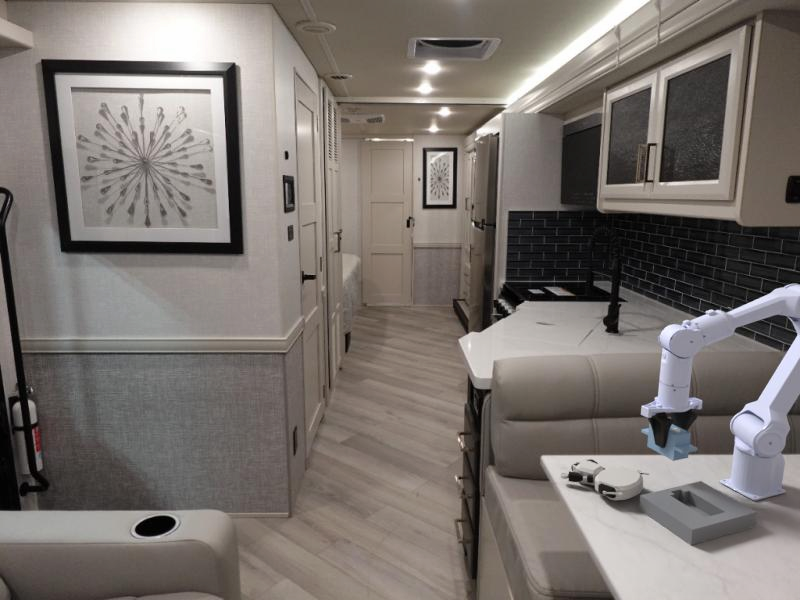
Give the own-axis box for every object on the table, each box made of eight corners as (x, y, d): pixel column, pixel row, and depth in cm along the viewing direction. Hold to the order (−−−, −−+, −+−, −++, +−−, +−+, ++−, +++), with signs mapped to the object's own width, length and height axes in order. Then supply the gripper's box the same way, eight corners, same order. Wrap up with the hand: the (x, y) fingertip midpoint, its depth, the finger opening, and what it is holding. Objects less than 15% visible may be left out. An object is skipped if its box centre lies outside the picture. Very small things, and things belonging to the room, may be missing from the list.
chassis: (699, 494, 112) (700, 481, 111) (754, 526, 100) (756, 511, 100) (639, 509, 106) (640, 495, 105) (690, 545, 95) (692, 529, 94)
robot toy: (556, 488, 116) (624, 513, 104) (556, 468, 115) (624, 491, 104) (586, 470, 124) (652, 491, 112) (586, 451, 123) (652, 470, 112)
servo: (654, 439, 120) (656, 414, 118) (696, 462, 109) (699, 435, 108) (640, 442, 118) (642, 417, 117) (681, 465, 108) (684, 437, 107)
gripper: (685, 373, 117) (679, 431, 120) (632, 380, 112) (627, 441, 115) (713, 383, 111) (706, 445, 113) (658, 391, 106) (652, 455, 108)
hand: (668, 444), depth 113 cm, fingers closed on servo, 4 cm apart
